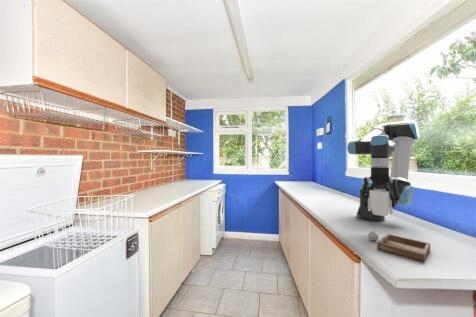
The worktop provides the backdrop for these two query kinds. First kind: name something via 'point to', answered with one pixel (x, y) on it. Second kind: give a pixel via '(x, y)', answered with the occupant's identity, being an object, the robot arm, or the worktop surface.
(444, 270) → the worktop surface
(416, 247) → the tray
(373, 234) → the ball
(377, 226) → the worktop surface
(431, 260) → the worktop surface
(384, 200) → the cup
